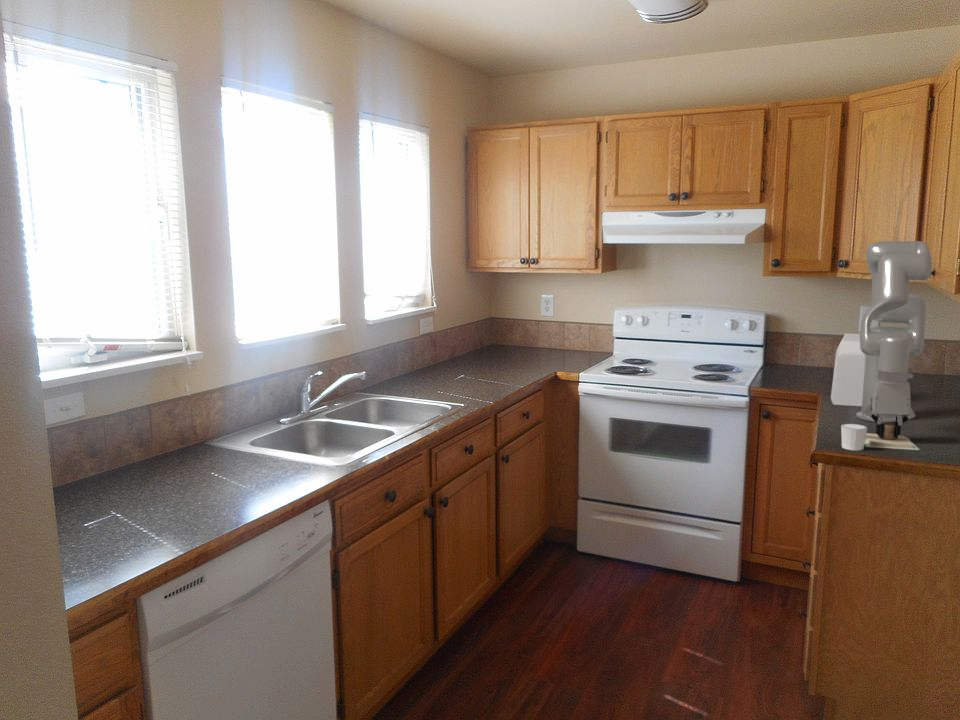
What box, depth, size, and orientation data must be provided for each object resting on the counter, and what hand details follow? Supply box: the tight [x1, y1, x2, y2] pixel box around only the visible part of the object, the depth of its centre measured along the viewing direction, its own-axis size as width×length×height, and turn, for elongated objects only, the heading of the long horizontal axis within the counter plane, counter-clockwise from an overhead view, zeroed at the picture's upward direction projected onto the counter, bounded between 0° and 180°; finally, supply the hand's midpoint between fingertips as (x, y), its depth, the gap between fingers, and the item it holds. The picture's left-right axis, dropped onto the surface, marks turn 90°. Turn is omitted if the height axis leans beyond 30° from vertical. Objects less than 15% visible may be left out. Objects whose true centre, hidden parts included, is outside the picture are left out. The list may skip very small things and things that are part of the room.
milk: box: [830, 333, 865, 407], centre depth 268 cm, size 12×12×26 cm
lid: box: [865, 422, 914, 448], centre depth 214 cm, size 11×11×6 cm
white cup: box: [840, 423, 868, 451], centre depth 209 cm, size 7×7×7 cm
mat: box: [864, 436, 921, 451], centre depth 215 cm, size 14×14×1 cm
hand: (887, 436), depth 215 cm, fingers closed on lid, 3 cm apart
